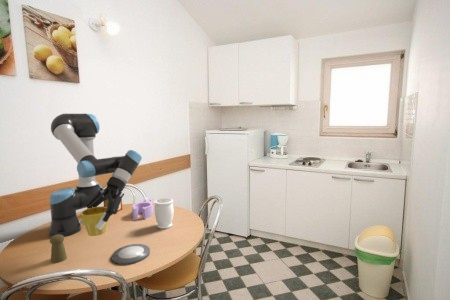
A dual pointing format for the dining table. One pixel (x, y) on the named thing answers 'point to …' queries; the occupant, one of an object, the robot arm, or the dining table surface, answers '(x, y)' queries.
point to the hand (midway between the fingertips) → (89, 226)
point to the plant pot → (93, 220)
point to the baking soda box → (107, 204)
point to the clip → (143, 209)
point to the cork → (57, 249)
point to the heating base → (130, 254)
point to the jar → (164, 212)
